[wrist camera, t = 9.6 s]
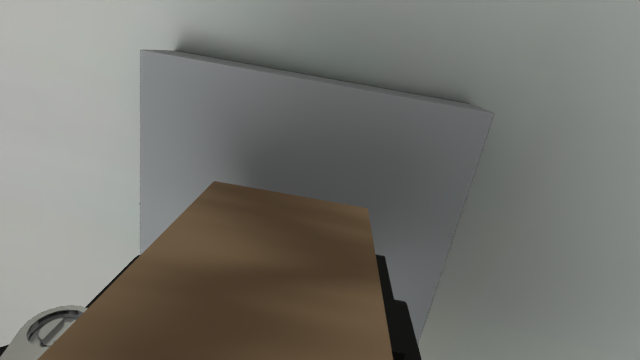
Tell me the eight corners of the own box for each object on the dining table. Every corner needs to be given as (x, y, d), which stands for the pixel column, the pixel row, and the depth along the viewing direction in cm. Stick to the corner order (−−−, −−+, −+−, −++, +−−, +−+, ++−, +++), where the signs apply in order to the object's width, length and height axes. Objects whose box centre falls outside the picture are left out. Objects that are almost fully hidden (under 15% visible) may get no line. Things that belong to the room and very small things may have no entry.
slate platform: (468, 103, 17) (494, 113, 14) (405, 310, 21) (415, 350, 18) (174, 50, 17) (140, 49, 14) (167, 268, 21) (140, 301, 18)
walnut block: (367, 208, 12) (416, 502, 4) (339, 330, 13) (335, 698, 6) (214, 180, 12) (-28, 424, 4) (205, 306, 13) (24, 644, 6)
